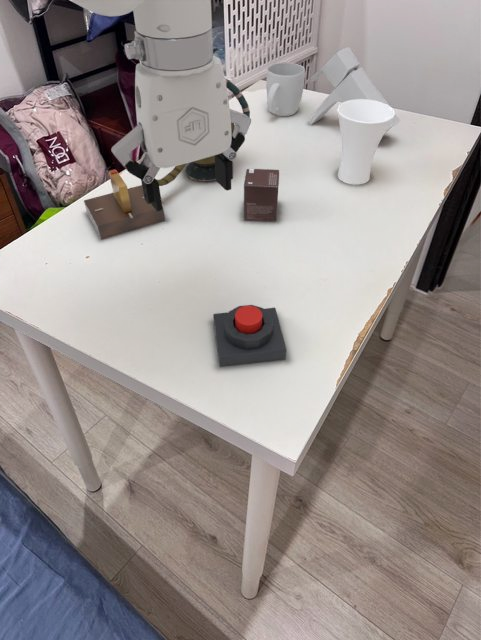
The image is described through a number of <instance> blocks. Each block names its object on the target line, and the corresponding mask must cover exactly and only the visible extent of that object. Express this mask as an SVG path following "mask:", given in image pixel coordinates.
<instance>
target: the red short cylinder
mask: <svg viewBox="0 0 481 640" xmlns="http://www.w3.org/2000/svg"><path fill="white" fill-rule="evenodd" d="M242 306H243V307H241V308H239V309H238V310H237V311H236V313H235V325H236V328H237V329H238V330H239V331H240V332H242V333H245V334H252V333H255V332H257V331H259V330H260V328H261V326H262V312H261V311H260V310H259V309H258V308H256V307H254V306H255V305H254V306H244V305H242Z"/></svg>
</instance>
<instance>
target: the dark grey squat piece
mask: <svg viewBox="0 0 481 640" xmlns="http://www.w3.org/2000/svg"><path fill="white" fill-rule="evenodd" d="M243 306H254V307H256V308H258V309H259V310H260V311H261V312H262V326H261V328H260V330H259V331H257V332H255V333H252V334H245V333H242V332H240V331H239V330H238V329H237V328H236V325H235V313H236V311H237V310H238V309H239V308H241V307H243ZM212 318H213V319H212V320H213V329H214V336H215V344H216V350H217V357H218V366H219V368H223V367H233V366H240V365H249V364H250V365H251V364H260V363H268V362H279V361H285V360H286V357H287V346H286V343H285V339H284V334H283V331H282V328H281V323H280V320H279V316H278V313H277V308H276V307H268V308H264V307H261V306H257V305H254V304H247V305H246V304H245V305H238V306H236V307H235V308H233V309H231V310H229V311H227V312H217V313H213V314H212Z"/></svg>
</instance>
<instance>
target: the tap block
mask: <svg viewBox="0 0 481 640" xmlns="http://www.w3.org/2000/svg"><path fill="white" fill-rule="evenodd" d="M127 189H128V194H129V199H130V204H131V208H132V211H129V212H125V213H124V211H123V210H122V208H121V206H120V205H119V203H118V202H117V200H116V198H115V197H114V193H113V192H111V193H107V194H102V195H98V196H96V197H92V198H88V199H84V200H83V203H84V207H85V210H86V214H87V217H89V220H90V221H91V223H92V225H93V227H94V229H95V231H96V233H97V234H98V237H99V238H100V240H101V241H102V240H105V239H109V238H112V237H115V236H118V235H122V234H126V233H130V232H132V231H136V230H140V229H142V228H146V227H149V226H153V225H156V224H159V223H162V222H166V216H165V211H164V206H162V208H163V209H161V211H158V212H157V211H156V210H155V208H154V207H153V206H152V204H151V203H150V204H148V203H147V202H146V200H145V198H144V193H143V188H142V184H141V185H137V186H133V187H129V188H127Z"/></svg>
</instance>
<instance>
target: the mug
mask: <svg viewBox="0 0 481 640" xmlns="http://www.w3.org/2000/svg"><path fill="white" fill-rule="evenodd" d="M305 78H306V69H305V67H304V66H303V65H301V64H298V63H295V62H284V61H283V62H277V63H273V64H270V65H269V66H268V67H267V69H266V85H265V86H266V107H267V111H269V112H270V113H271V114H273V115H275V116H278V117H290V116H293V115H295V114H296V113H297V111H298V110H299V107H300V104H301V102H302V98H303V92H304V89H305V88H304V87H305Z"/></svg>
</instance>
